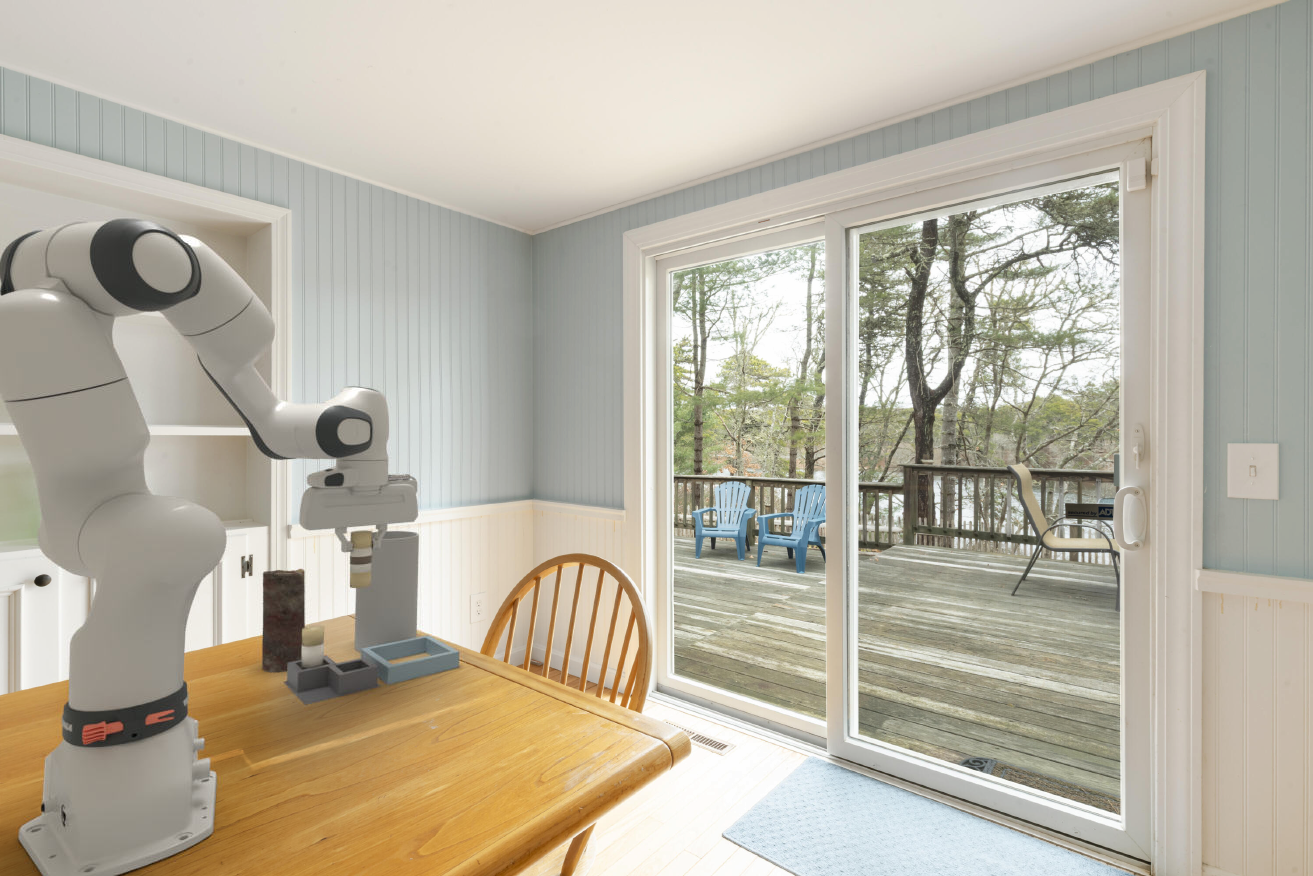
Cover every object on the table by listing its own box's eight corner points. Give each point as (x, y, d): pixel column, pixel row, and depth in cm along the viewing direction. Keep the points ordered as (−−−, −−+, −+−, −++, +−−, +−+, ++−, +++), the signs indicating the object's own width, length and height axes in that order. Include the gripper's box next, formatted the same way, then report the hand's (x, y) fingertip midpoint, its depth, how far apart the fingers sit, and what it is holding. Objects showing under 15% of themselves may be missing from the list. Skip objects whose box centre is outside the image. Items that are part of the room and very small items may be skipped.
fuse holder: (380, 691, 117) (381, 666, 117) (305, 710, 108) (305, 684, 108) (354, 671, 127) (355, 648, 127) (283, 687, 118) (283, 662, 118)
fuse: (325, 682, 118) (326, 628, 118) (304, 687, 115) (305, 632, 116) (319, 677, 121) (320, 624, 121) (298, 682, 118) (299, 627, 118)
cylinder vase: (341, 653, 137) (343, 536, 137) (386, 637, 148) (388, 529, 148) (385, 662, 132) (388, 541, 132) (428, 645, 144) (431, 533, 144)
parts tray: (458, 672, 128) (459, 651, 128) (388, 690, 118) (388, 667, 118) (428, 654, 138) (428, 635, 138) (360, 669, 128) (360, 648, 128)
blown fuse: (374, 586, 118) (375, 532, 118) (353, 589, 116) (354, 534, 116) (367, 582, 121) (367, 529, 121) (346, 585, 119) (347, 531, 118)
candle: (251, 674, 124) (254, 571, 124) (283, 662, 131) (286, 564, 131) (282, 679, 122) (285, 574, 122) (313, 666, 129) (316, 567, 129)
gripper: (410, 472, 128) (409, 542, 128) (297, 476, 114) (295, 554, 114) (424, 474, 123) (423, 546, 123) (308, 478, 109) (306, 559, 109)
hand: (361, 550), depth 118 cm, fingers closed on blown fuse, 4 cm apart
